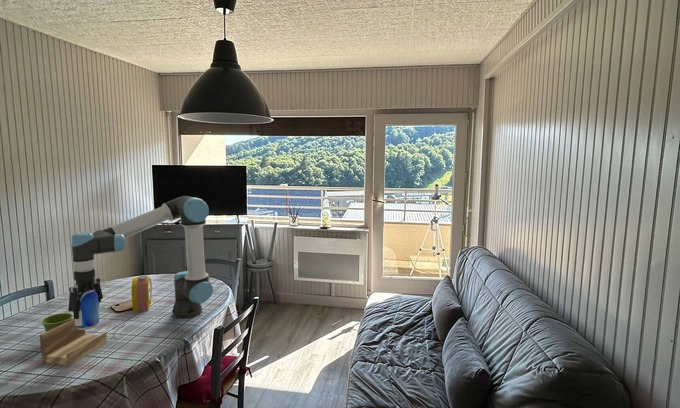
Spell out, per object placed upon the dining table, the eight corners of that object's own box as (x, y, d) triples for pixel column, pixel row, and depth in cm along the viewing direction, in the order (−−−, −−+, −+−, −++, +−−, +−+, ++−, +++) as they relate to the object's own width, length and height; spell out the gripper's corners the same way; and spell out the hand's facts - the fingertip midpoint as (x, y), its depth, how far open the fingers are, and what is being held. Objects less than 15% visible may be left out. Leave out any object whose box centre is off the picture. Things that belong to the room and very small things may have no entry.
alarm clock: (149, 311, 210) (147, 279, 208) (132, 313, 207) (130, 280, 205) (152, 301, 224) (151, 271, 222) (136, 303, 221) (135, 272, 219)
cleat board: (106, 342, 174) (105, 317, 173) (69, 365, 155) (67, 337, 153) (81, 339, 176) (80, 315, 175) (42, 362, 157) (39, 334, 155)
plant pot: (39, 349, 167) (37, 325, 166) (47, 338, 178) (45, 315, 177) (71, 344, 172) (69, 321, 171) (77, 333, 183) (75, 311, 181)
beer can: (87, 331, 158) (85, 294, 156) (70, 329, 160) (68, 293, 158) (103, 323, 166) (101, 288, 164) (87, 321, 168) (85, 286, 166)
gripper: (96, 262, 171) (98, 311, 174) (54, 276, 150) (58, 331, 153) (110, 263, 170) (113, 312, 172) (70, 277, 149) (74, 332, 152)
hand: (87, 321), depth 163 cm, fingers closed on beer can, 8 cm apart
